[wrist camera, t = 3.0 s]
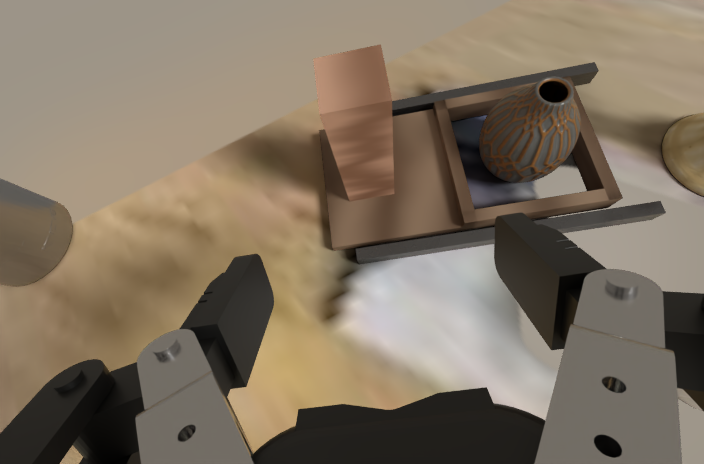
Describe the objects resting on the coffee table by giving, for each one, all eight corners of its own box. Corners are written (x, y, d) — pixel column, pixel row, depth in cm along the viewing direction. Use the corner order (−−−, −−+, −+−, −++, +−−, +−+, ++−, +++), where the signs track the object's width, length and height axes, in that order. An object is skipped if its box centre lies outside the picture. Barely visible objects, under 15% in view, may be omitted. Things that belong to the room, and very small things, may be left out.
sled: (334, 250, 29) (288, 185, 17) (321, 136, 33) (277, 16, 21) (607, 207, 27) (776, 99, 15) (559, 91, 31) (662, -69, 19)
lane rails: (359, 264, 29) (357, 260, 27) (339, 121, 34) (337, 111, 32) (651, 219, 27) (665, 212, 25) (585, 74, 32) (594, 62, 30)
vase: (458, 144, 31) (480, 73, 23) (526, 116, 31) (572, 35, 23) (495, 206, 29) (534, 151, 21) (568, 175, 29) (637, 109, 21)
